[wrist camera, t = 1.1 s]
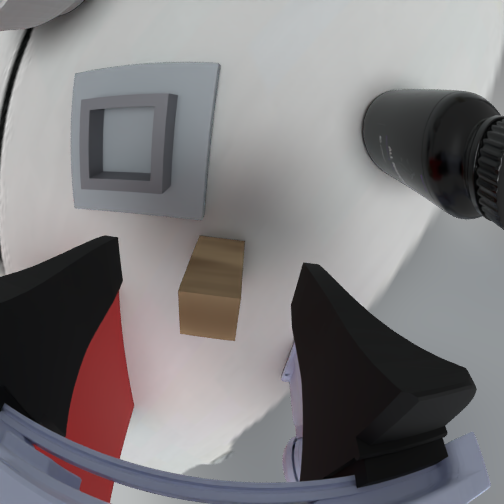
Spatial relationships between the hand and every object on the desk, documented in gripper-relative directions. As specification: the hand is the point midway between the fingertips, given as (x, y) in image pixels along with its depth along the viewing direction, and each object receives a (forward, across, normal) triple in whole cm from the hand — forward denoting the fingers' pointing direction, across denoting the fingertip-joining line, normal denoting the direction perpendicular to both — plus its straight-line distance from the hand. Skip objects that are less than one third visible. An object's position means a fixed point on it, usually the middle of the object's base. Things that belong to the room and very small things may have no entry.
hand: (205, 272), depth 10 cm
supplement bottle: (+10, -12, -7) cm, 17 cm away
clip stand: (+10, +7, -4) cm, 13 cm away
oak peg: (+10, 0, +5) cm, 12 cm away
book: (+11, +15, +22) cm, 28 cm away
